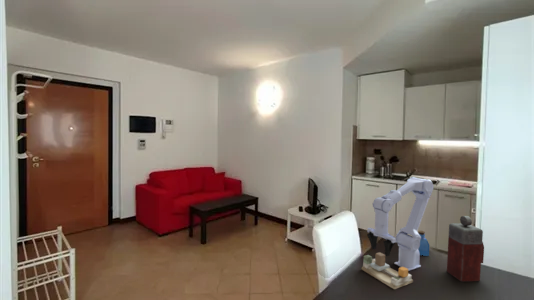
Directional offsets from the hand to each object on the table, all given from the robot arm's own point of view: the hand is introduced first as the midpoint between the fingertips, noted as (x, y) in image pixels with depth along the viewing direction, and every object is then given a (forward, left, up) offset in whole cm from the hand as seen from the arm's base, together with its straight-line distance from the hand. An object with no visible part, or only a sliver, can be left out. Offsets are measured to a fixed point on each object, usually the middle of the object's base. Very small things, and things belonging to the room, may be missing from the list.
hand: (380, 252), depth 124 cm
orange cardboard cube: (-1, +11, -6) cm, 13 cm away
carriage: (0, 0, -7) cm, 7 cm away
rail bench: (0, +4, -10) cm, 10 cm away
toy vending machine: (-33, +20, -10) cm, 40 cm away
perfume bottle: (-37, -4, -10) cm, 39 cm away
